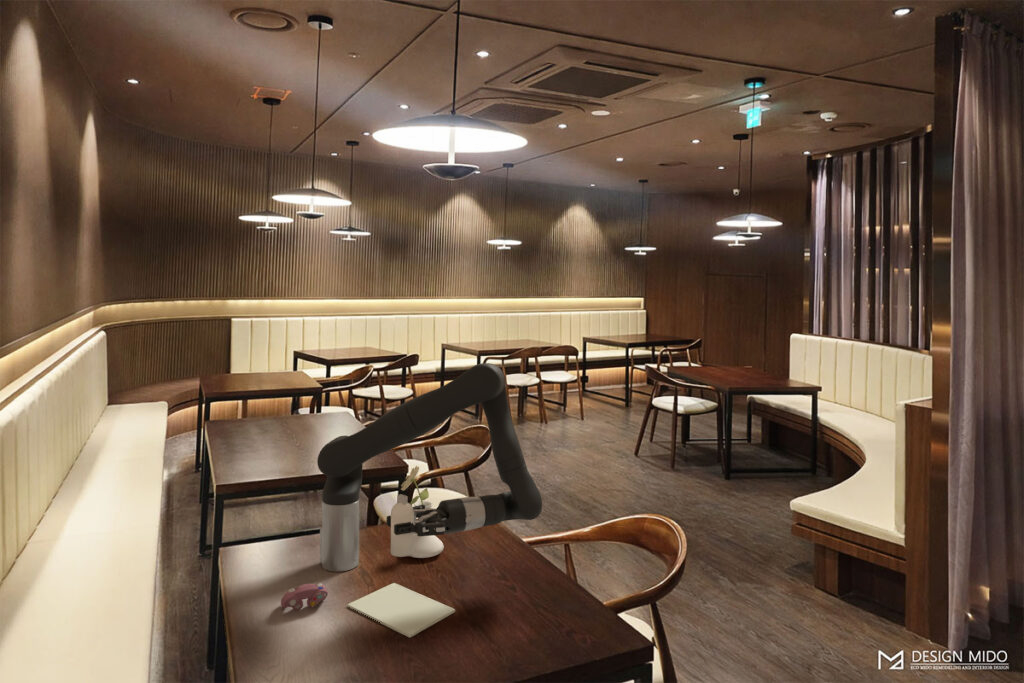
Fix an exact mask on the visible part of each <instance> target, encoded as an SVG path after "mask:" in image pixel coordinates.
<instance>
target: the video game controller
mask: <svg viewBox="0 0 1024 683" xmlns="http://www.w3.org/2000/svg"><path fill="white" fill-rule="evenodd" d="M327 597H328V589H327V588H326V586H325V585H324V584H322V583H321V582H319V583H317V584H314V583H304V584H301V585H299V586H297V587H295V588H290V589H288V590H287V591H285V593H284V594H283V596H282V597H281V600H280V606H281V608H282V609H287V608H292V609H293V610H294V611H300V610H301V609H302V608H304V602H303V601H304V600H306V603H307V606H308V608H313V607H312V606H314V607H316V606H317V605H318V604H319V602H322V601H324V600H326V598H327ZM299 609H300V610H299Z"/></svg>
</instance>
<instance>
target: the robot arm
mask: <svg viewBox="0 0 1024 683" xmlns="http://www.w3.org/2000/svg"><path fill="white" fill-rule="evenodd" d="M505 378H506V377H505V374H504V372H503V371H502V369H501V367H499V366H497V365H495V364H493V363H490V362H489V363H488V362H486V363H485V362H483V363H482V362H481V363H478V364H475V365H473V366H471V367H470V368H469V369H467V370H466V371H464V372H463V373H461V374H460V375H459V376H457V377H456V378H454V379H452V380H451V381H449V382H448V383H446V384H444V385H443V386H441V387H438V388H436V389H433V390H430V391H427V392H425V393H422V394H420V395H418V396H416V397H413V398H411V399H409V400H407V401H405V402H403V403H402V404H400V405H397V406H396V407H393V408H392V409H391V410H389V411H387V412H386V413H384V414H383V415H381V416H380V417H378V418H377V419H376V420H373V422H371V423H370V424H369V425H367V426H366V427H364V428H362V429H361V430H359V431H357V432H355V433H353V434H351V435H340V436H337V437H335V438H334V439H332V440H330V441H328V442H327V443H326V444H325V445H324V446H323V447H322V448H321V450H320V451H319V453H318V456H317V461H316V462H317V468H318V470H319V471H320V472H321V473H322V474H323V475H324V476H326V481H325V484H324V487H323V489H322V492H321V493H322V494H321V495H322V496H321V498H322V499H321V500H322V501H321V503H322V504H321V508H322V511H321V513H322V516H321V521H322V522H321V523H322V526H321V527H320V528H319V563H320V564H321V567H322V568H323V569H324V570H326V571H329V572H337V573H338V572H345V571H349V570H353V569H354V568H356V567H357V566H358V565H360V564H359V563H360V562H359V561H360V493H361V492H360V491H361V488H362V484H363V464H365V463H366V462H367V461H369V460H371V459H372V458H374V457H377V456H379V455H380V454H384V453H385V452H389V451H391V450H394V449H395V448H398V447H400V446H402V445H405V444H407V443H409V442H411V441H414V440H415V439H417V438H420V437H421V436H424V435H426V434H427V433H429V432H430V431H432V430H434V429H436V428H437V427H439V426H440V425H441V424H442V423H444V422H445V421H446V420H448V419H449V418H451V417H453V415H455V414H457V413H459V412H461V411H464V410H466V409H468V408H470V407H473V406H475V405H478V404H481V407H482V410H483V412H484V416H485V418H486V421H487V426H488V433H489V438H490V444H491V451H492V455H493V459H494V462H495V465H496V468H497V472H498V475H499V478H500V480H501V482H503V483H504V484H505V485H507V486H508V488H509V490H510V491H505V492H501V493H497V494H488V495H480V496H465V497H459V498H451V499H444V500H441V501H440V502H439V503H438V506H437V507H436V508H433V507H431V508H426V509H425V505H418V506H412V507H413V510H414V521H413V522H412V524H411V522H407V523H400V524H395V525H394V534H395V535H400V534H406V533H411V532H412V534H417V536H433V535H434V536H443V535H448V534H455V533H459V532H467V531H471V530H472V531H473V530H475V529H478V528H483V527H488V526H493V525H499V524H501V523H502V522H506V521H514V520H523V521H524V520H525V521H532V520H535V519H537V518H538V517H539V516H540V515H541V513H542V510H543V499H542V495H541V493H540V490H539V488H538V486H537V485H536V483H535V480H534V479H533V477H532V475H531V474H530V472H529V470H528V466H527V464H526V459H525V456H524V453H523V450H522V447H521V444H520V441H519V438H518V434H517V432H516V429H515V426H514V422H513V419H512V416H511V410H510V406H509V400H508V394H507V386H506V379H505ZM385 518H386V520H385V521H386V525H387V527H391V514H390V515H388V516H386V517H385Z"/></svg>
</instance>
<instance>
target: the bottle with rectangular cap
mask: <svg viewBox="0 0 1024 683" xmlns="http://www.w3.org/2000/svg"><path fill="white" fill-rule="evenodd" d="M396 498H397V501H396V503H394V505H393V506H392V507H391V510H390V515H391V526H390V554H391V555H392V556H394V557H398V558H403V557H410V556H409V555H411V554H412V553H413V542H414V534H412V532H411V533H406V534H400V535H395V534H394V525H395V524H400V523H407V522H411V524H412V522H413V521H414V510H413V507H414V506H413V505H412V504H410V502H408V500H409V499H408V498H409V497H408V496H407V495H406V494H401V493H400V494H398V495H397V497H396Z"/></svg>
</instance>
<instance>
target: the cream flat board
mask: <svg viewBox="0 0 1024 683" xmlns="http://www.w3.org/2000/svg"><path fill="white" fill-rule="evenodd" d="M349 607H350V608H349ZM347 608H349V609H351V610H353V609H354V610H353V611H355V610H356V611H355V612H357V611H358V614H361V613H362V614H361V615H363V614H364V615H363V616H365V615H366V616H365V617H367V616H368V618H369V617H370V618H369V619H371V618H372V619H371V620H373V619H374V620H373V621H375V620H376V621H375V622H377V621H378V622H377V623H379V622H380V623H379V624H381V625H383V626H386V627H387V628H389V629H392V630H393V631H395V632H397V633H399V634H401V635H404V636H406V637H408V638H409V639H410V638H412V637H414V636H416V635H417V634H419V633H420V632H422V631H424V630H426V629H428V628H429V627H432V626H434V625H435V624H436V623H438V622H440V621H442V620H443V619H445V618H447V617H448V616H450V615H452V614H454V613H455V612H456V609H455V608H453V607H450V606H449V605H446V604H443V603H442V602H440V601H437V600H435V599H432V598H429V597H428V596H426V595H423V594H420V593H418V592H416V591H414V590H412V589H409V588H407V587H405V586H403V585H400V584H398V583H396V582H393V583H391V584H388V585H386V586H384V587H382V588H379V589H378V590H376V591H373V592H370V593H368V594H367V595H364V596H362V597H361V598H358V599H356V600H354V601H352V602H350V603H348V604H347Z"/></svg>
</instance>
